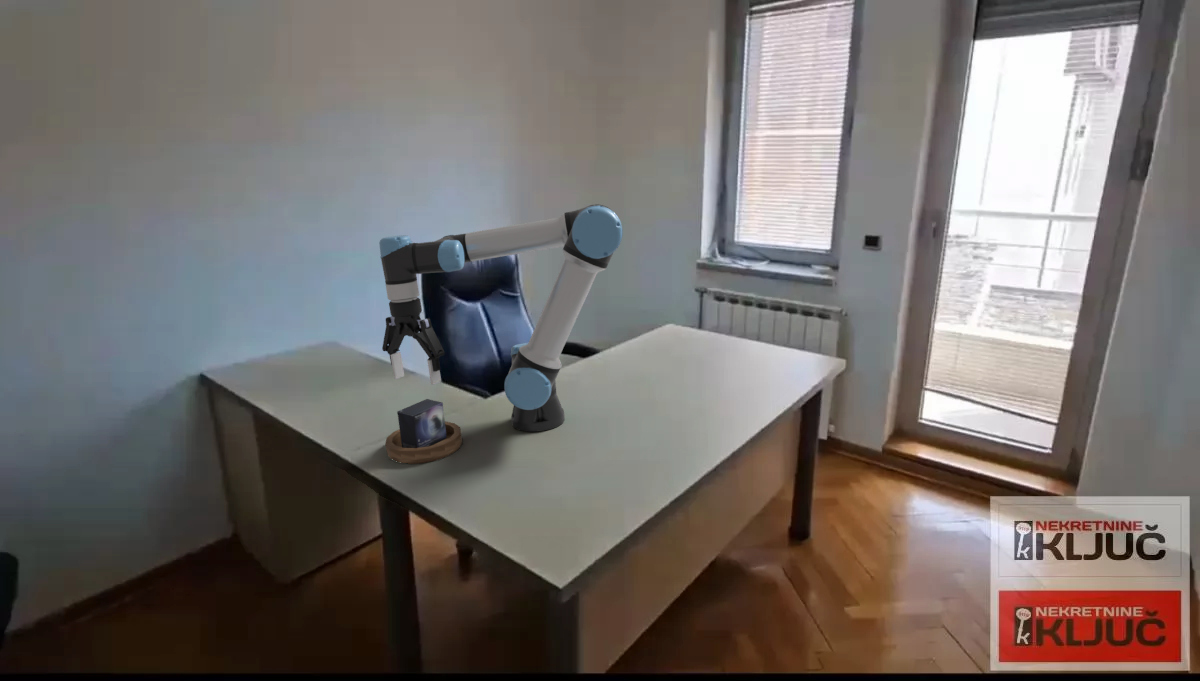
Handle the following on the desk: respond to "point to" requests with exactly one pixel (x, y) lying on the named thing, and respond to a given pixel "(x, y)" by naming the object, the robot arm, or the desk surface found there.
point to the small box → (422, 424)
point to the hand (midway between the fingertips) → (417, 380)
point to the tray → (424, 453)
